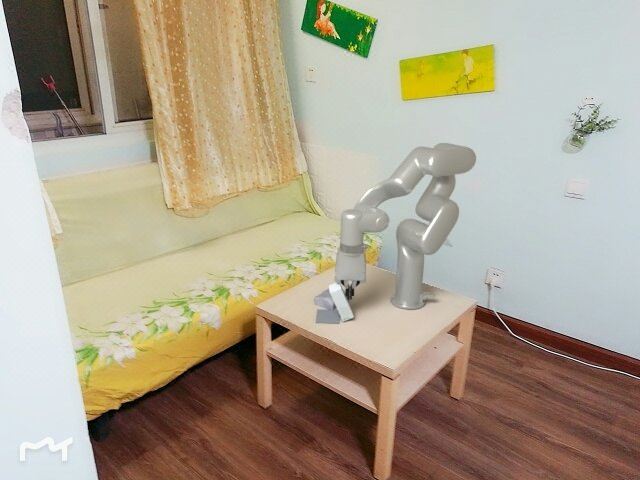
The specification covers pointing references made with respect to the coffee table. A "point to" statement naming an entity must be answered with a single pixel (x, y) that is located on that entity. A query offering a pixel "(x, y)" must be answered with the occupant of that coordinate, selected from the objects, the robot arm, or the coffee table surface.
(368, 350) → the coffee table surface
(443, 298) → the coffee table surface
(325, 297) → the stone block
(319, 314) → the pad
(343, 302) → the skincare box
